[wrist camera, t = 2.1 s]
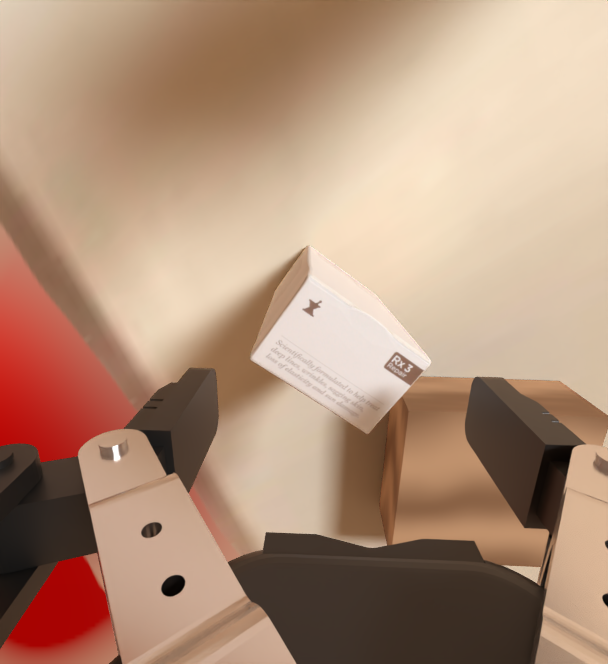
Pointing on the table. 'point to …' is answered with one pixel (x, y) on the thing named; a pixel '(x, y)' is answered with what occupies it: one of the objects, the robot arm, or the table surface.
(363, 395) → the skincare box
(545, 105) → the table surface
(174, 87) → the table surface
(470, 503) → the walnut block
